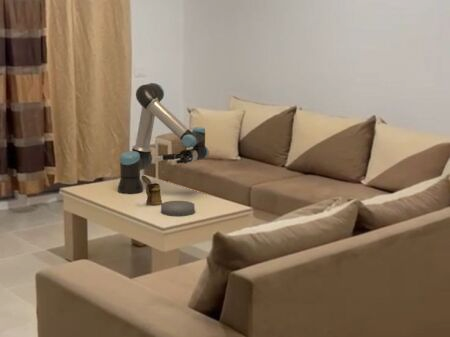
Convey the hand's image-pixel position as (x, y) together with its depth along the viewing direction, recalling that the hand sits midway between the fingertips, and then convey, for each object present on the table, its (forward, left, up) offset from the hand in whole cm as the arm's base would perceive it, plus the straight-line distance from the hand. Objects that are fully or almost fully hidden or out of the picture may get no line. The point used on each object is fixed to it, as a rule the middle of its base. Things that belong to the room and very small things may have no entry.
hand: (163, 161), depth 421 cm
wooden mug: (+7, -7, -24) cm, 26 cm away
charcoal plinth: (+24, +7, -23) cm, 34 cm away
